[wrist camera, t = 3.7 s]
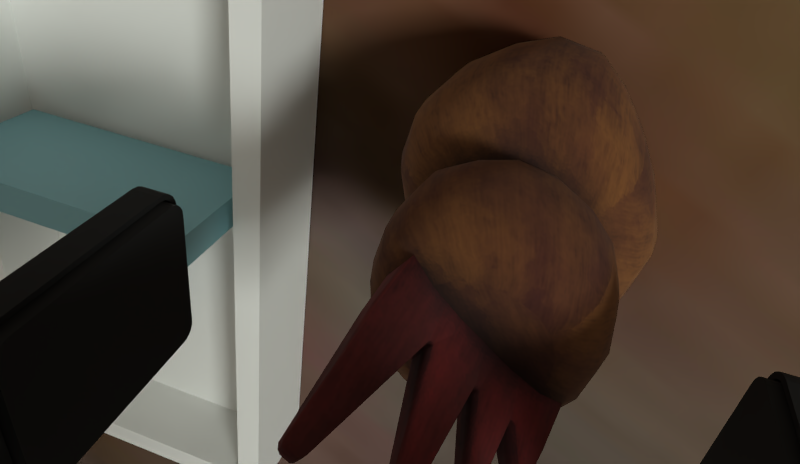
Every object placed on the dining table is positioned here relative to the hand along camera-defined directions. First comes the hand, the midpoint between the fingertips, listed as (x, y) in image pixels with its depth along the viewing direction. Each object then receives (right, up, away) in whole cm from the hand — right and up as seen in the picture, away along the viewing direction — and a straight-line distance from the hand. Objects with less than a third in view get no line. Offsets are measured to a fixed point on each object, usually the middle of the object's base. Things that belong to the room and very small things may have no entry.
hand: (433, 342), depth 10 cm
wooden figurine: (+4, +5, +10) cm, 12 cm away
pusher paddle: (-11, +2, +16) cm, 19 cm away
